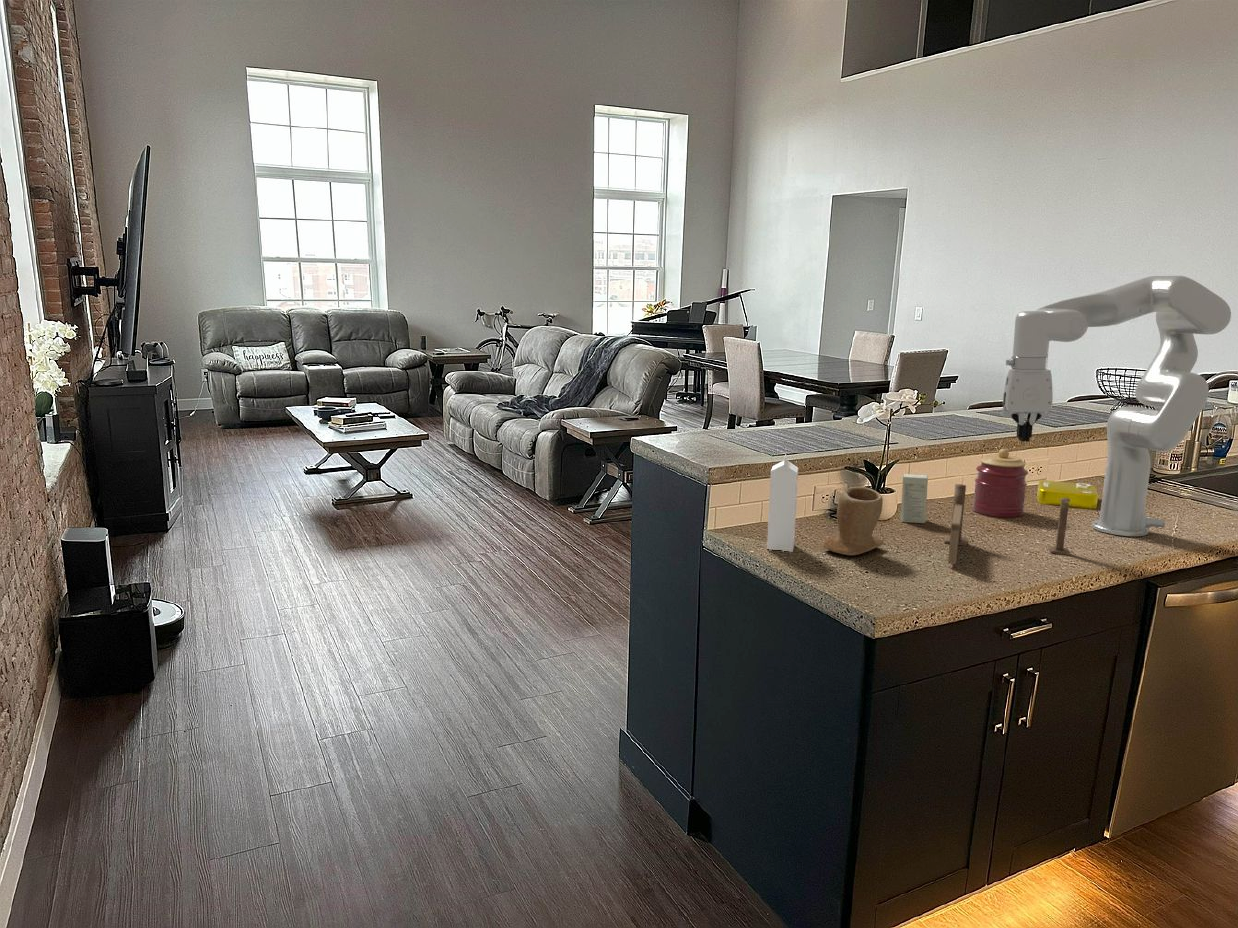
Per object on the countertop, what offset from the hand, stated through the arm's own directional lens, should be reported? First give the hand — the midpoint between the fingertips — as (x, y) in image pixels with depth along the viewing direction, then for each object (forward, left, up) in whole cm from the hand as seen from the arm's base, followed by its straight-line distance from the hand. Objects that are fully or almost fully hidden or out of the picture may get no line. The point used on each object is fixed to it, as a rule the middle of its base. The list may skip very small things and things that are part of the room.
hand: (1023, 440), depth 204 cm
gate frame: (+3, +9, -24) cm, 26 cm away
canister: (+2, -25, -25) cm, 35 cm away
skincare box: (+24, -7, -25) cm, 35 cm away
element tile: (-18, -47, -25) cm, 56 cm away
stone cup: (+36, +25, -25) cm, 50 cm away
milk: (+53, +29, -25) cm, 65 cm away
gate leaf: (+14, +20, -23) cm, 34 cm away
